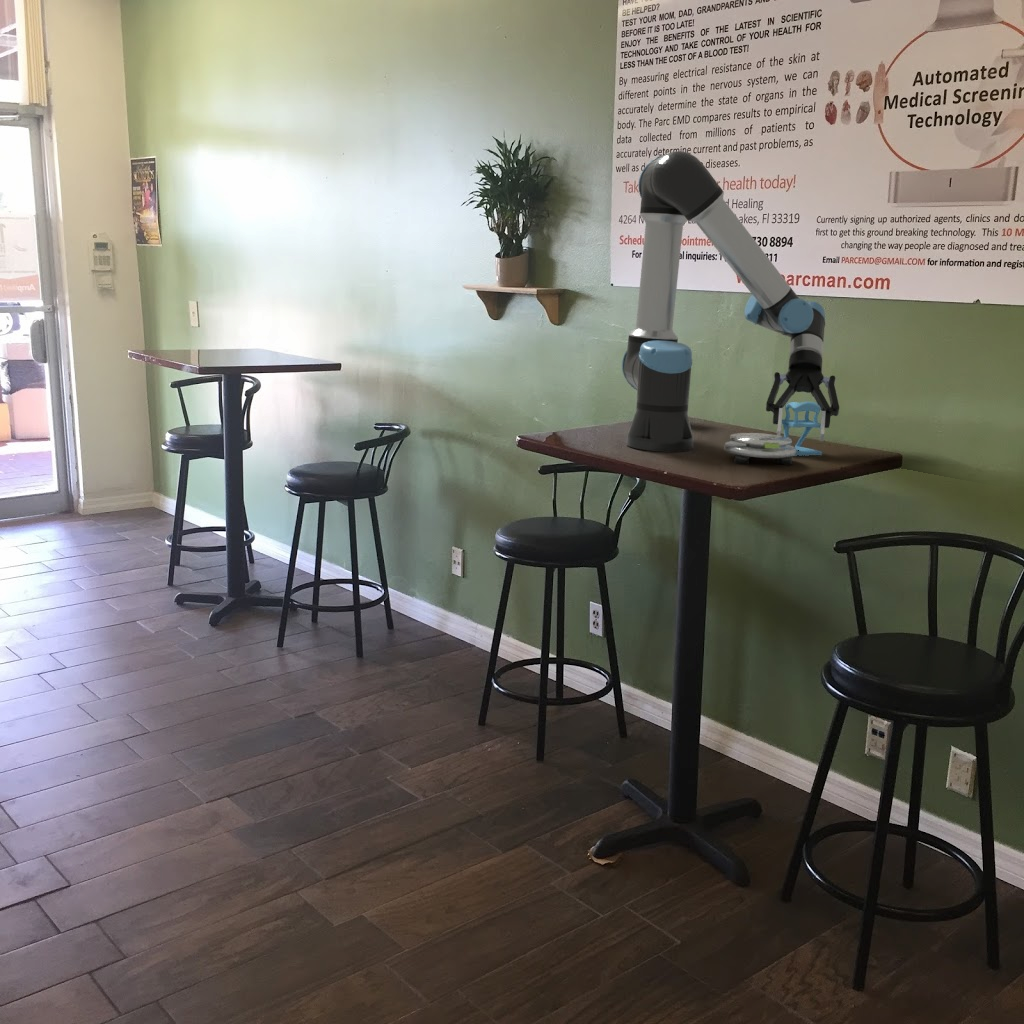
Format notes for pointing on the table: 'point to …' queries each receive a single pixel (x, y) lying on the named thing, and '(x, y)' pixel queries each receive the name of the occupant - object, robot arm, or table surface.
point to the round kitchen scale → (760, 447)
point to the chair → (802, 424)
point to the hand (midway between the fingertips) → (800, 436)
